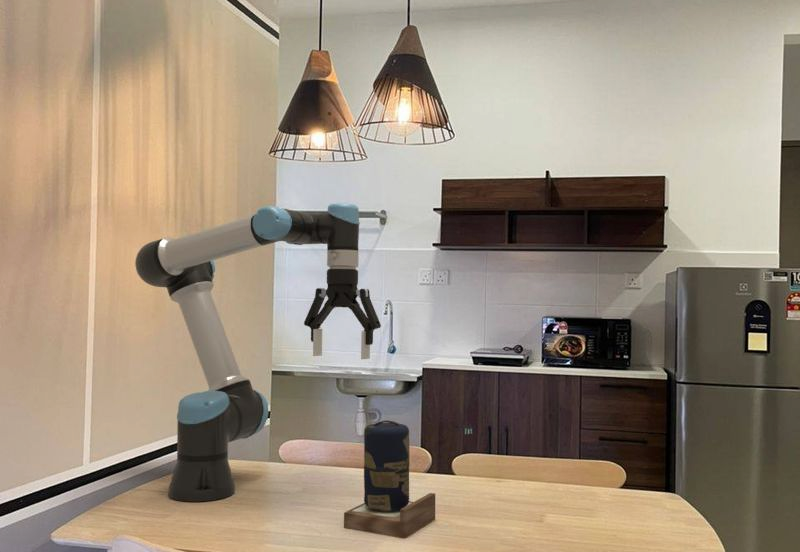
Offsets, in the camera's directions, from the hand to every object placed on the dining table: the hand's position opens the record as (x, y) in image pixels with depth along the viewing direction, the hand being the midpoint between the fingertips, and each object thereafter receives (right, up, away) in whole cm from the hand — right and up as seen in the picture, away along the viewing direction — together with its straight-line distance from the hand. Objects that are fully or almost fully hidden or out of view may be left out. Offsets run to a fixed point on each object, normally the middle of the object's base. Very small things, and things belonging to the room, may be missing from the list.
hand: (340, 357), depth 177 cm
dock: (+12, -32, -23) cm, 41 cm away
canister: (+11, -29, -23) cm, 39 cm away
